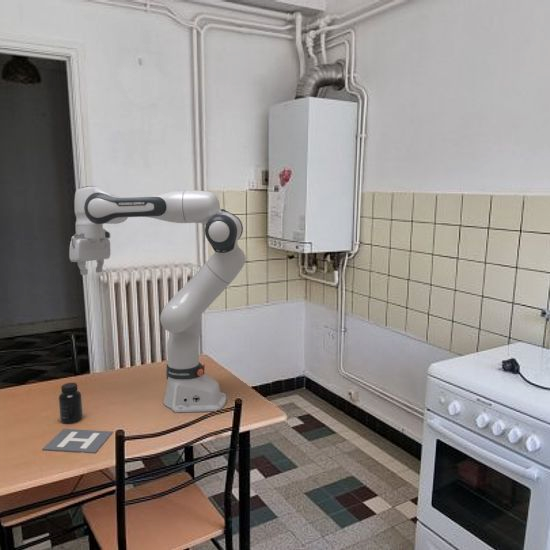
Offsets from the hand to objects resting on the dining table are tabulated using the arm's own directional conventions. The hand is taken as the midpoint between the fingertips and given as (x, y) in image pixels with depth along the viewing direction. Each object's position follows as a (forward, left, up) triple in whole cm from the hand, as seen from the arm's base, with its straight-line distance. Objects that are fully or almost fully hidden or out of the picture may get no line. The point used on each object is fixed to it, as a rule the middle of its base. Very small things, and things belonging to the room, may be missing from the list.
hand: (91, 273), depth 164 cm
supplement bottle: (+1, +17, -47) cm, 49 cm away
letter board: (-8, +30, -46) cm, 56 cm away
